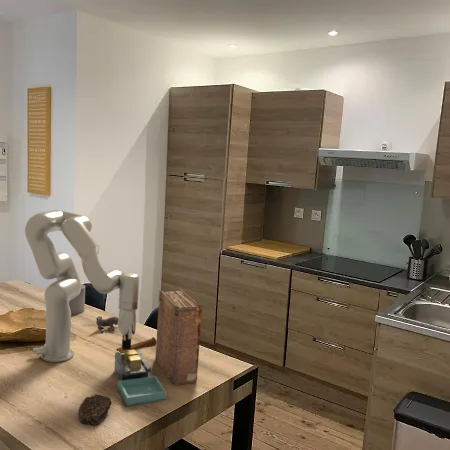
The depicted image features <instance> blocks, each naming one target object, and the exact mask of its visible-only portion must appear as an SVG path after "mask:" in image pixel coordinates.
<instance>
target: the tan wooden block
mask: <svg viewBox="0 0 450 450" xmlns="http://www.w3.org/2000/svg"><path fill="white" fill-rule="evenodd" d="M128 365H129V367H130V368H137V367H141V358H140V356H139V355H135V356H128Z"/></svg>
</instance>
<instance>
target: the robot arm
mask: <svg viewBox="0 0 450 450" xmlns="http://www.w3.org/2000/svg"><path fill="white" fill-rule="evenodd" d="M92 228H93V225H92V222H91V220H90V219H89V218H88V217H86V216H85V215H82V214H79V213H74V212H68V211H65V210H64V211H63V210H58V209H54V210H49V211H48V210H47V211H42V212H38V213H36V214H33V215H32V216H31V217H29V219H28V220H27V222H26V223H25V227H24V234H25V235H24V236H25V238H26V241H27V243H28V245H29V247H30V249H31V253H32V255H33V258H34V261H35V263H36V267H37V269H38V272H39V274H40V276H41V277H42V278H43V279H45V280H48V281H49V280H54V279H56V281H54V282H52V283H50V284H49V285H48V286H47V287H46V288H45V290H44V291H45V292H44V295H43V296H44V302H45V313H46V314H45V317H46V318H45V343H44V344H43V346H41V347H33V348H32V351H33V352H32V353H34V354H35V353H36V355H40V356H41V357H40V358H41V359H42V360H44V361H46V362H50V363H59V362H65V361H68V360H70V359H72V358H73V357H74V355H75V353H74V350H73V349H71V328H72V327H71V323H72V314H71V310H70V306H69V301H70V300H71V299H73V298H75V297H76V296H78V295H79V293H80V291H81V284H82V282H81V280H80V278H79V277H80V276H79V275H78V272H77V269H76V266H75V264H74V261H73V259H72V258H71V257H70V255H69V254H67V253H65V252H57V250H56V248H55V245H54V242H53V241H52V240H51V238H50V237H49V236H48V234H49V233H52V232H53V233H54V232H57V231H58V232H62V234H63V236H64V237H65V238H66V240H67V241H68V243H69V244H70V245H71V247H72V248H73V249H74V250H75V252H76V253H77V255H78V256H79V258H80V260H81V261H80V262H81V266H82V269H83V273H84V274H85V277H86V279H87V280H88V281H89V283H90V284H91V285H92V287H93V288H94V289H95V290H96V291H97V292H98V293H100V294H103V295H107V294H109V293H112V292H113V291H115V290H117V289H119V290H118V291H119V292H118V309H119V311H118V317H117V318H118V325H117V329H118V330H119V332H120V333H121V336H122V337H121V338H122V339H121V347H122V349H123V350H128V349H131V345H132V339H133V335H135V334H136V326H137V325H136V324H137V316H136V315H137V314H136V311H137V310H138V309H139V295H140V293H139V292H140V291H139V290H140V276H139V275H138V274H137V273H134V272H124V271H121V270H117V269H111V270H109V271H107V272H106V271H105V270H104V268H103V267H102V265H101V263H100V260H99V252H100V245H99V243H98V242H97V241H96V239H95V238H94V236H93V235H92V234H91V233H90V232H91V231H92V230H93V229H92Z"/></svg>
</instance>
